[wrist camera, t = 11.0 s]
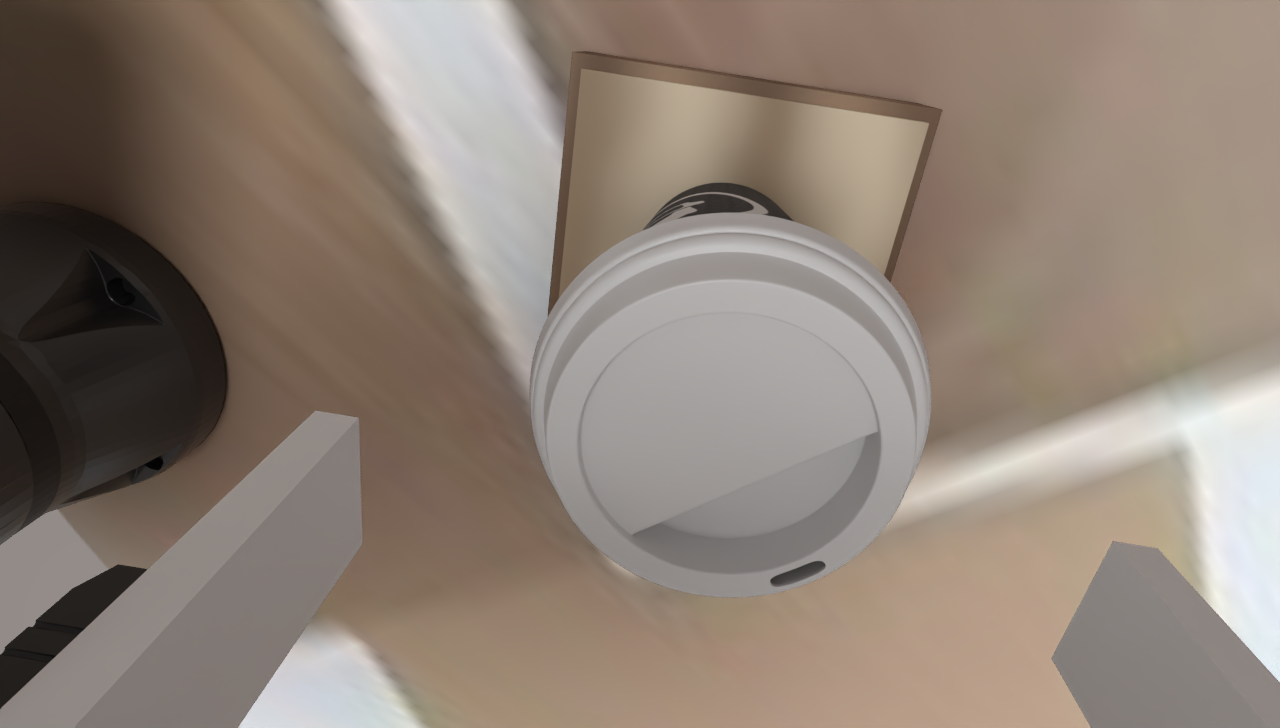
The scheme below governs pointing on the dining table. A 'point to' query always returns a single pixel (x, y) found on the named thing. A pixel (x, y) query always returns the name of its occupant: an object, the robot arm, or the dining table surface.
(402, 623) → the dining table surface
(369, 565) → the dining table surface
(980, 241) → the dining table surface
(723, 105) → the pedestal
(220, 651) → the robot arm
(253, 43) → the dining table surface
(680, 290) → the coffee cup
